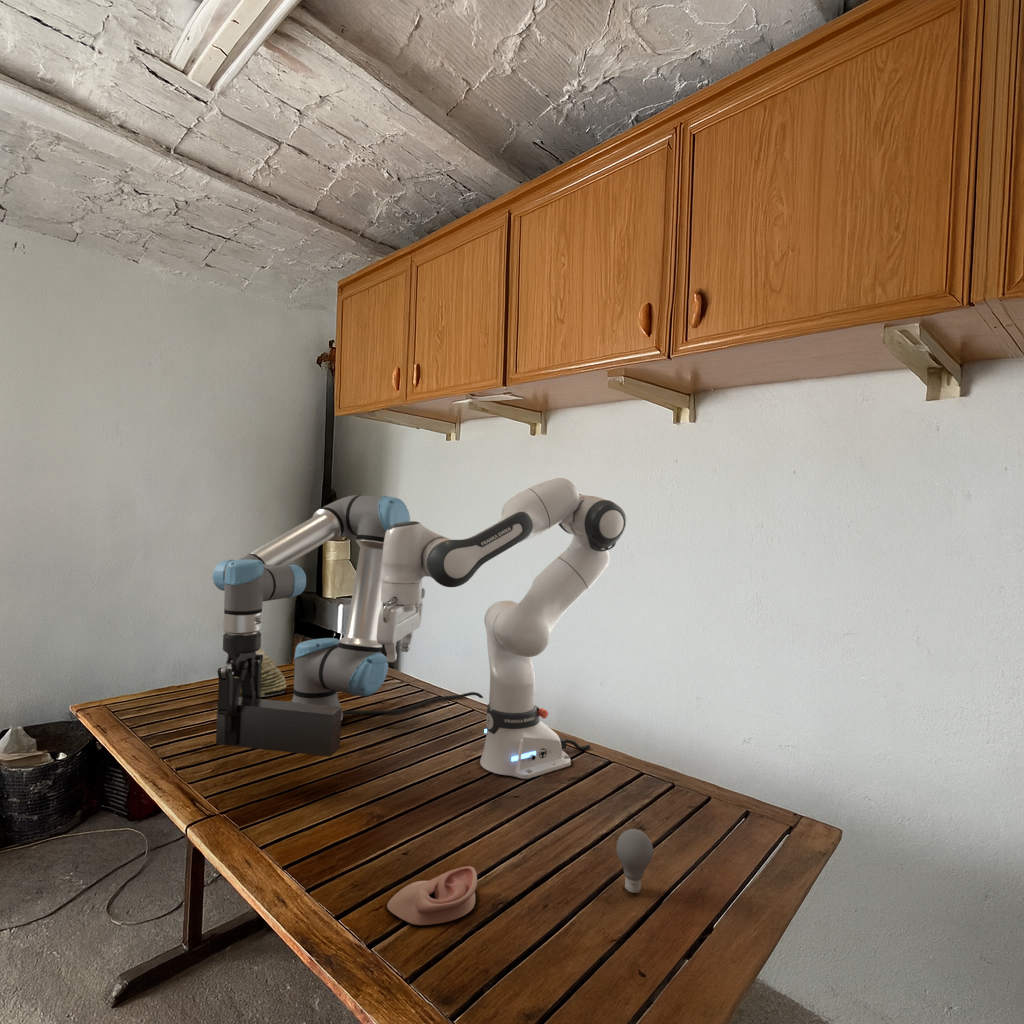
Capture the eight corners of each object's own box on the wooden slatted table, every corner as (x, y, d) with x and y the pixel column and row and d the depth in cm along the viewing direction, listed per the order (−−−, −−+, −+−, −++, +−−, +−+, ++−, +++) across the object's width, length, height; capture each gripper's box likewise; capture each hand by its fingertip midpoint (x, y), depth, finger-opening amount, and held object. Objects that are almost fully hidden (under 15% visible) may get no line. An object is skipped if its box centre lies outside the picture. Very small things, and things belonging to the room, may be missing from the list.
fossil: (218, 695, 195) (220, 647, 195) (278, 685, 208) (279, 640, 207) (228, 703, 189) (230, 653, 188) (289, 692, 201) (290, 645, 201)
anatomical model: (379, 892, 96) (407, 852, 107) (378, 918, 96) (406, 875, 107) (464, 907, 93) (483, 864, 104) (463, 934, 93) (482, 888, 104)
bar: (215, 744, 135) (217, 702, 134) (229, 736, 139) (230, 696, 139) (330, 756, 131) (332, 714, 130) (340, 747, 135) (341, 706, 135)
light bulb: (610, 879, 108) (613, 822, 108) (644, 879, 109) (647, 822, 109) (619, 902, 102) (622, 840, 102) (655, 901, 103) (658, 840, 103)
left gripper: (234, 642, 126) (230, 757, 127) (280, 625, 144) (276, 726, 145) (199, 639, 128) (196, 754, 128) (249, 623, 145) (246, 723, 146)
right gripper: (399, 602, 130) (397, 669, 130) (427, 589, 150) (425, 647, 150) (370, 600, 131) (367, 666, 131) (402, 587, 151) (399, 645, 151)
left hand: (238, 739), depth 136 cm, fingers closed on bar, 5 cm apart
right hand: (398, 656), depth 141 cm, fingers open, 8 cm apart
